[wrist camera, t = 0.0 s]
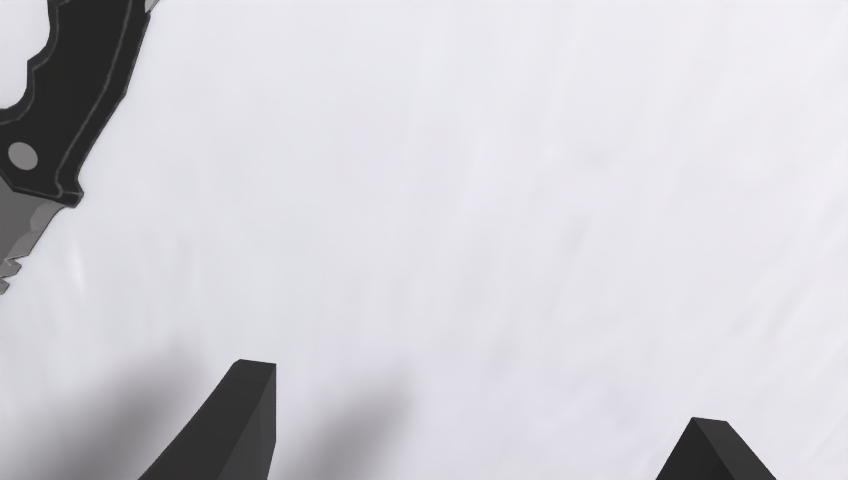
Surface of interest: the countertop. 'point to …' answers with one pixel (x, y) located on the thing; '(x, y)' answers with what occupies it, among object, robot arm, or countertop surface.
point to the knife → (63, 114)
